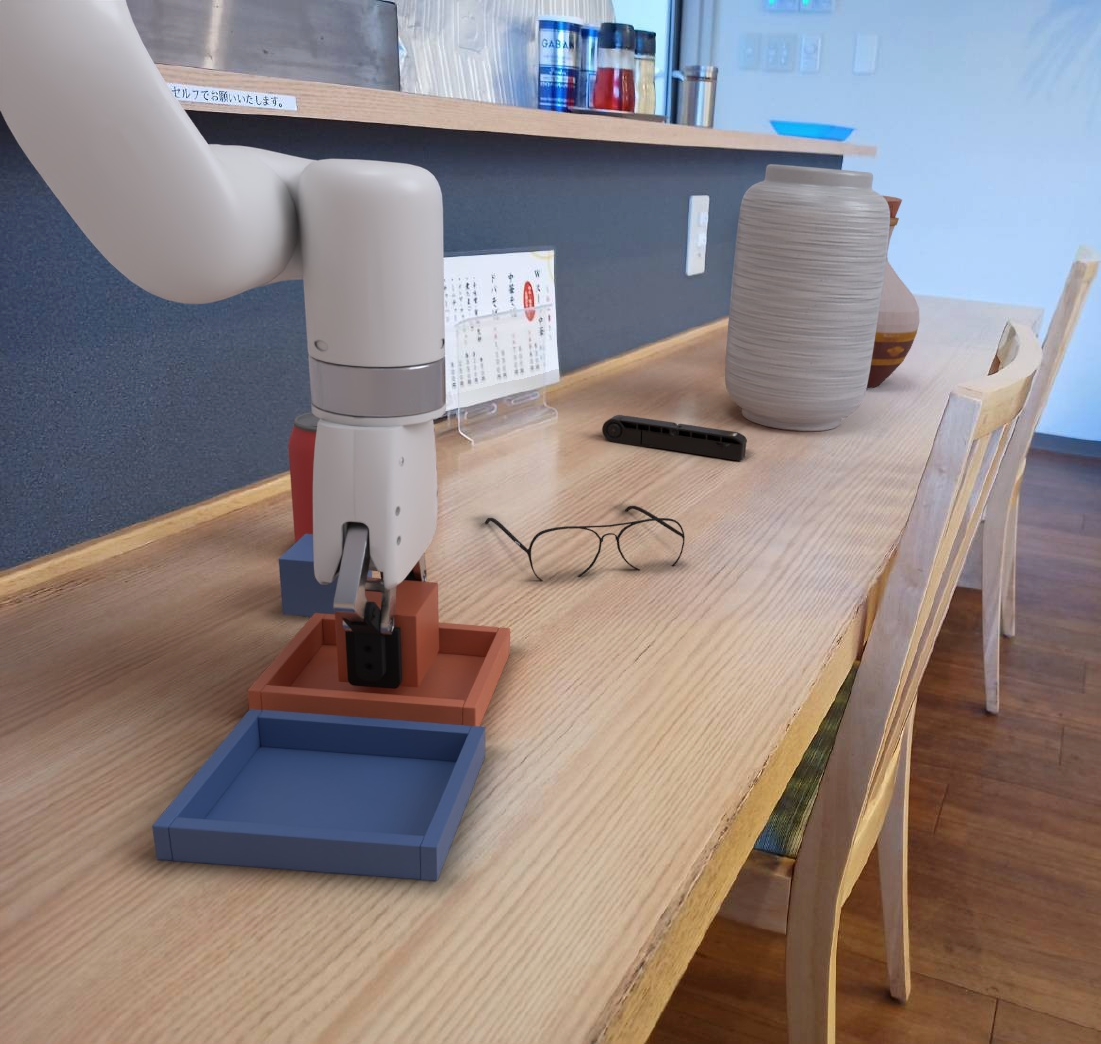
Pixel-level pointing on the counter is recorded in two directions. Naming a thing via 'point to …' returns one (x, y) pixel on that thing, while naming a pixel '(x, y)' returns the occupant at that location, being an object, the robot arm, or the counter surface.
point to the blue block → (304, 582)
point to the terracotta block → (405, 629)
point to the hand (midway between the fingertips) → (389, 659)
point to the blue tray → (326, 796)
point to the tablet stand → (675, 437)
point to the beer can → (302, 472)
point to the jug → (893, 317)
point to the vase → (805, 296)
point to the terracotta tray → (442, 697)
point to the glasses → (654, 518)
